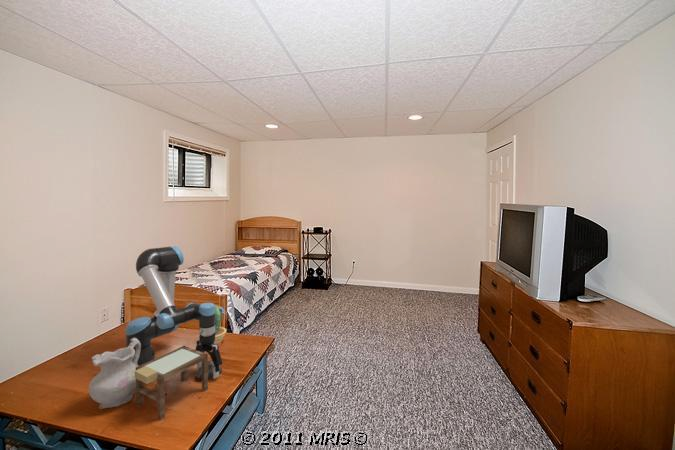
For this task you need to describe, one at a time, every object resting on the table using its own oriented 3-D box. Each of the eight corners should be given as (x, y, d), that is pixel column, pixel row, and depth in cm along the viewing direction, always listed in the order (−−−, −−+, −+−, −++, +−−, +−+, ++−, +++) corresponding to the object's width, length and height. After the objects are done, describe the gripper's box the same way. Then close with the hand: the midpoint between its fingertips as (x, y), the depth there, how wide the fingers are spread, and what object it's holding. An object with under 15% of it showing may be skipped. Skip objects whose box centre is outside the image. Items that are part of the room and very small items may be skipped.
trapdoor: (131, 376, 121) (131, 369, 120) (182, 352, 141) (182, 346, 141) (150, 385, 115) (150, 378, 114) (200, 359, 135) (200, 353, 135)
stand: (136, 405, 125) (135, 367, 124) (184, 378, 145) (184, 345, 144) (160, 420, 117) (159, 379, 116) (207, 389, 137) (207, 354, 136)
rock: (200, 384, 141) (200, 371, 141) (191, 378, 146) (190, 365, 145) (224, 371, 152) (224, 359, 152) (214, 366, 157) (214, 355, 157)
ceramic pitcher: (116, 386, 140) (110, 337, 138) (157, 381, 141) (151, 333, 140) (79, 418, 118) (72, 361, 117) (128, 413, 120) (121, 356, 118)
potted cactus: (220, 350, 174) (220, 310, 173) (196, 349, 175) (195, 309, 173) (230, 338, 190) (230, 302, 188) (207, 338, 190) (207, 301, 189)
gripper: (185, 331, 149) (186, 371, 150) (217, 341, 138) (217, 384, 139) (198, 326, 156) (199, 364, 157) (229, 335, 145) (229, 376, 146)
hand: (207, 373), depth 148 cm, fingers open, 12 cm apart
